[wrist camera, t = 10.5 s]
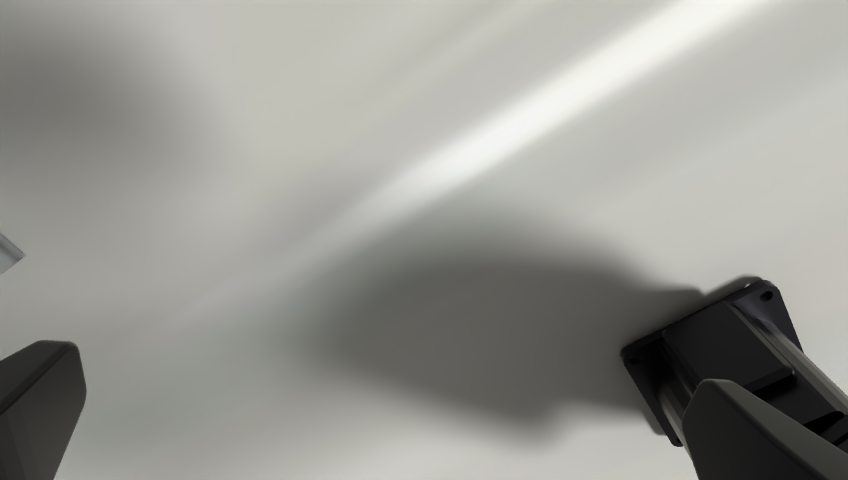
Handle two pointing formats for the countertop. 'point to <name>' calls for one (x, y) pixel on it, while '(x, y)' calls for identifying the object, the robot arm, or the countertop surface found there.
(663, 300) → the countertop surface
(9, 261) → the tray
